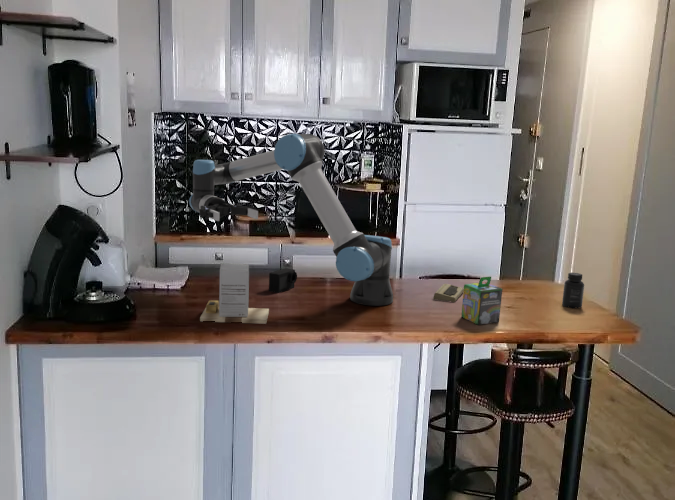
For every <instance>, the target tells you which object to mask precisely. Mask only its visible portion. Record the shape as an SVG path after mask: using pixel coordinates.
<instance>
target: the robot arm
mask: <svg viewBox="0 0 675 500" xmlns="http://www.w3.org/2000/svg"><path fill="white" fill-rule="evenodd" d="M325 152H326V151H325V145H324V143H323V141H322V140H321V139H320V138H319V137H318V136H317V135H314V134H310V133H289V134H285V135H283V136H282V137H280V138H279V139H278V140H277V142H276V143H275V146H274V149H273V150H270V151H266V152H262V153H259V154H255V155H251V156H248V157H243V158H239V159H236V160H232V161H229V162H224V163H219V164H218V163H217V164H215V161H214V160H211V159H196V160H194V162H193V168H192V194H191V195H190V197H189V199H188V204H189V206H190V208H191V209H192V210H193V211H194V212H196V213H199V218H204V217H205V220H206V221H207V220H208V221H209V220H210V219H211V220H214V221H216V222H220V219H222V218H223V217H224V216H234V215H238V216H240V215H242V216H247V217H249V218H251V219H254V220H258V219H259V210H257V207H253V206H252V205H250V206H246V205H245V206H244V205H239V204H228V203H227V202H226V200H225V199H224V198H221V197H220V196H219V197H218V196H216V195H215V186H218V185H229V184H233V183H235V182H238V181H243V180H246V179H249V178H254V177H257V176H258V177H259V176H262V175H266V174H269V173H274V172H277V171H282V170H284V171H287V173H288V174H289V176H290V178H291V180H292V181H295V182H298V183H299V185H300V186H301V188H302V190H303V192H304V194H305V195H306V197H307V198H308V201H309V202H310V204H311V206H312V208H313V209H314V211H315V213H316V214H317V216H318V218H319V220H320V222H321V223H322V225H323V227H324V228H325V230H326V231H327V234H328V236H329V237H330V239H331V240H332V243H333V248H332V252H333V253H334V256H335V257H336V258H335V259H336V260H335V267H336V270H337V271H338V274H339V275H340V276H341V277H342V278H344V279H346V280H347V281H351V282H353V286H352V288H351V291H350V295H349V298H350V299H349V300H350V301H351V302H353V303H355V304H359V305H365V306H373V307H374V306H375V307H376V306H378V307H379V306H387V305H390V304H392V303H393V302H394V294H393V288H392V286H391V280H390V274H391V263H392V262H391V259H392V249H393V246H392V244H393V243H392V239H391V238H390V237H387V236H381V235H380V236H379V235H370V234H369V235H368V234H364V233H363V232H362V231H361V232H360V231H358V230H357V229H356V227H355V226H354V224H353V223H352V221H351V218H350V217H349V216H348V214H347V212H346V210H345V208H344V206H343V205H342V204H341V201H340V200H339V198H338V196H337V195H336V192H335V190H334V189H333V188H332V186H331V184H330V182H329V181H328V179H327V177H326V175H325V174H324V172H323V170H322V166H323V160H324V157H325Z"/></svg>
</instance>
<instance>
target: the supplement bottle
mask: <svg viewBox="0 0 675 500" xmlns="http://www.w3.org/2000/svg"><path fill="white" fill-rule="evenodd" d="M584 291H585V283H584V282H583V274H581V273H578V272H569V273H568V274H567V280H565V281H564V284H563V291H562V293H563V294H562V300H561V301H562V303H561V304H562V306H563V307H566V308H569V309H581V308H582V307H583V299H584Z"/></svg>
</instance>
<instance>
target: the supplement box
mask: <svg viewBox="0 0 675 500" xmlns="http://www.w3.org/2000/svg"><path fill="white" fill-rule="evenodd" d="M249 288H250V264H249V263H227V262H226V263H225V262H224V263H220V267H219V297H218V299H219V300H218V301H219V317H248V308H249V298H250V297H249V294H250V292H249V291H250V290H249Z"/></svg>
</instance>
